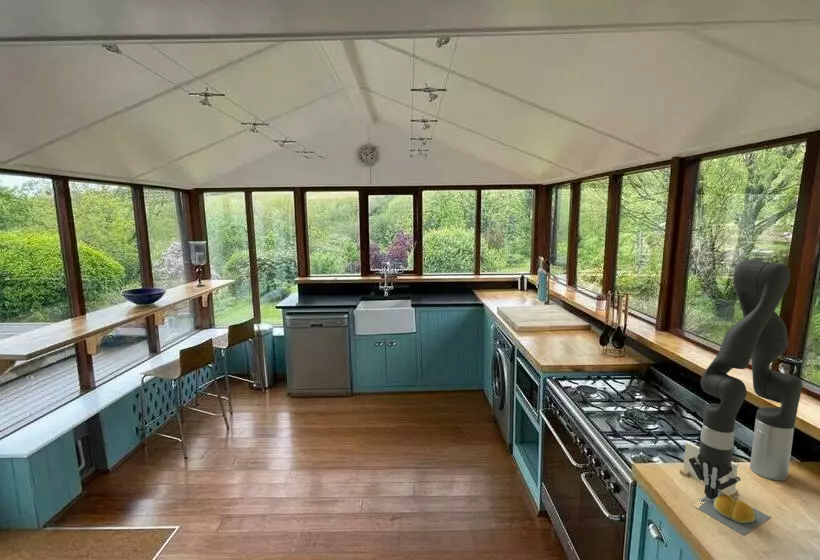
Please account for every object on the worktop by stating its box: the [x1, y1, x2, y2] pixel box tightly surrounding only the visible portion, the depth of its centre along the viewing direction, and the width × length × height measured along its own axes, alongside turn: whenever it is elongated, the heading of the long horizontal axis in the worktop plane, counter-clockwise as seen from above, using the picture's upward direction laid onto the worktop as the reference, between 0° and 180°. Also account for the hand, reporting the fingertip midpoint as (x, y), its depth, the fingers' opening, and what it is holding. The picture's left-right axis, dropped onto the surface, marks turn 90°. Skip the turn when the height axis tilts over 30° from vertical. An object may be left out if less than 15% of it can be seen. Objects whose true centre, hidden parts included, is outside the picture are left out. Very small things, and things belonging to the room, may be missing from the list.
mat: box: [698, 490, 771, 536], centre depth 118 cm, size 14×13×1 cm
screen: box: [679, 441, 739, 498], centre depth 129 cm, size 5×14×10 cm, turn 27°
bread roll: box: [713, 495, 755, 523], centre depth 116 cm, size 8×9×4 cm
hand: (710, 497), depth 122 cm, fingers closed
